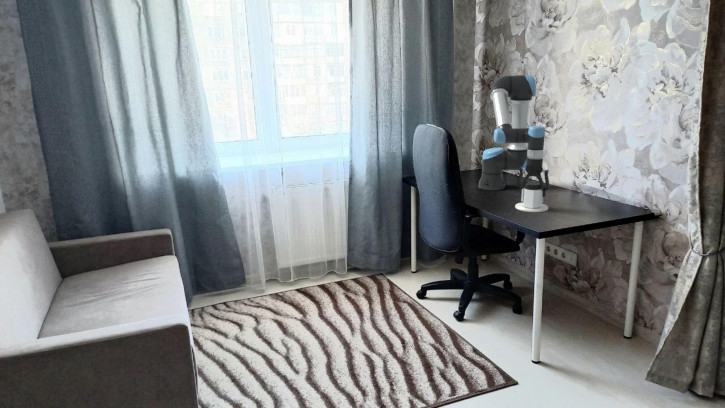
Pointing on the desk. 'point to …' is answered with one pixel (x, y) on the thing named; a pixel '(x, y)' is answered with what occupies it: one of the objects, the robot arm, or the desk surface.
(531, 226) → the desk surface
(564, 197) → the desk surface
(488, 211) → the desk surface
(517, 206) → the plate
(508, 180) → the desk surface
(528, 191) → the jar
